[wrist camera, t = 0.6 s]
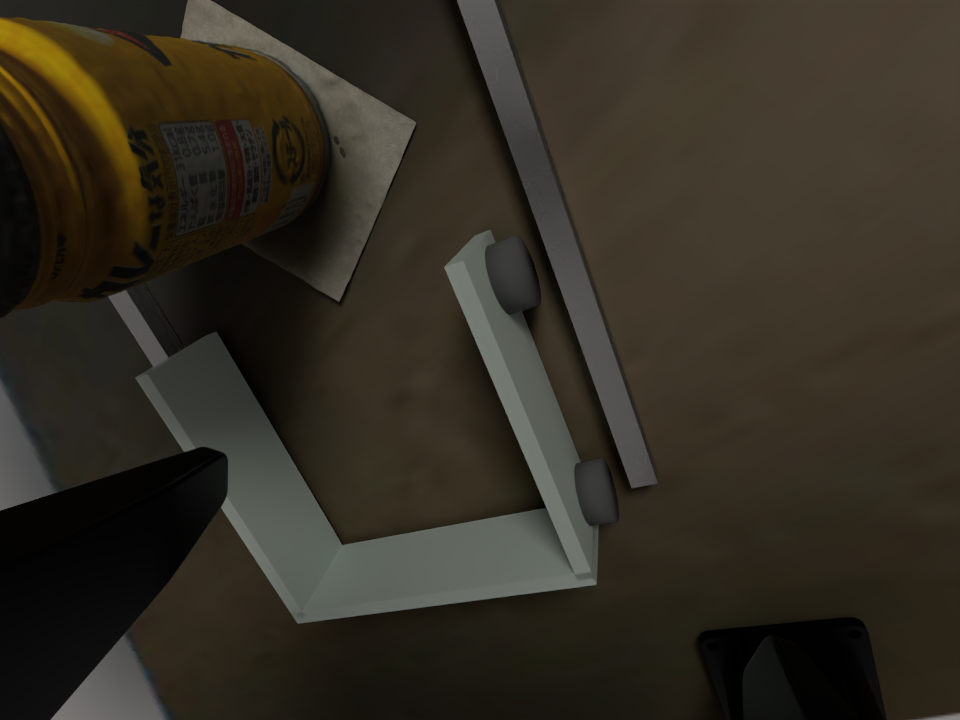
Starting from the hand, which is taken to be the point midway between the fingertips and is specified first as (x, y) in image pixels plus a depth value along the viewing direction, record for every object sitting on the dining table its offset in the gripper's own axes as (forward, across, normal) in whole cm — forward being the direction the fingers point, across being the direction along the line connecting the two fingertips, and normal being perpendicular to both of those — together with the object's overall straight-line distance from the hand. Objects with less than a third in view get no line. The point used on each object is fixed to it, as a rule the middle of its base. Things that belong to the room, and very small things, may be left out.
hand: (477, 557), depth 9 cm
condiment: (+13, +11, -3) cm, 17 cm away
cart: (+13, +5, +6) cm, 15 cm away
